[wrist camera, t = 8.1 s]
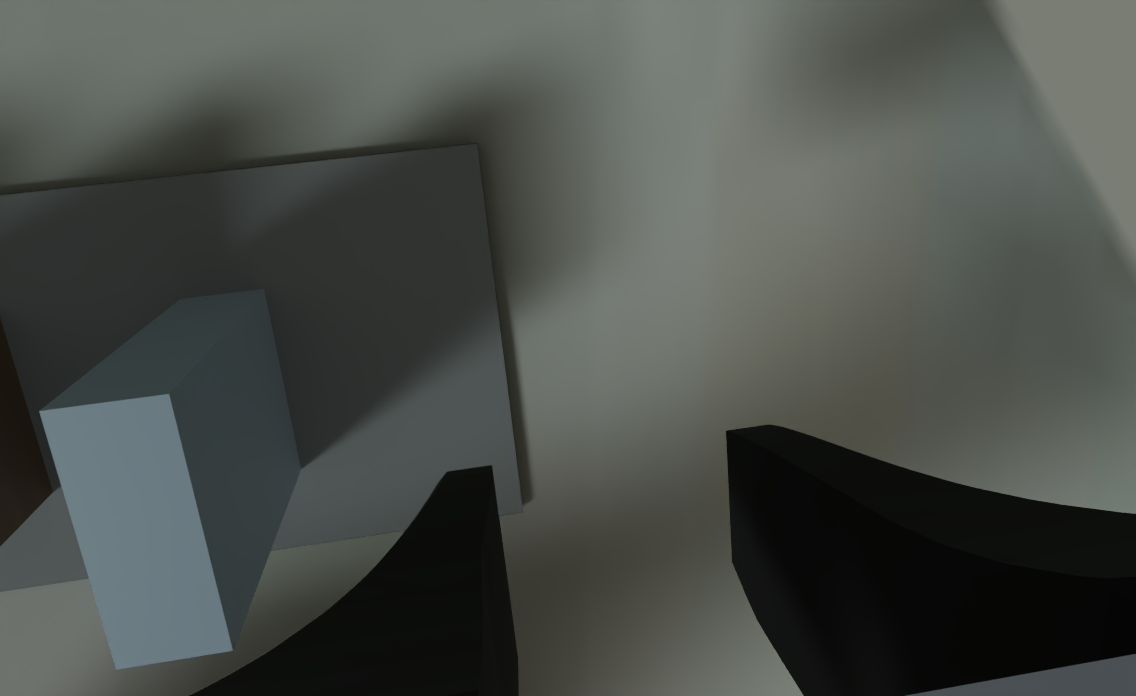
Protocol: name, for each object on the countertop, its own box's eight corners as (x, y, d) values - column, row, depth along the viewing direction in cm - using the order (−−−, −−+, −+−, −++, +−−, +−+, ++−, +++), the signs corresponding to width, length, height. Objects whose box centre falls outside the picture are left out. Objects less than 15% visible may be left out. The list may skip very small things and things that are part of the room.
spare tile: (264, 288, 19) (168, 393, 13) (301, 469, 21) (232, 651, 14) (180, 298, 19) (39, 411, 12) (223, 480, 20) (116, 669, 14)
